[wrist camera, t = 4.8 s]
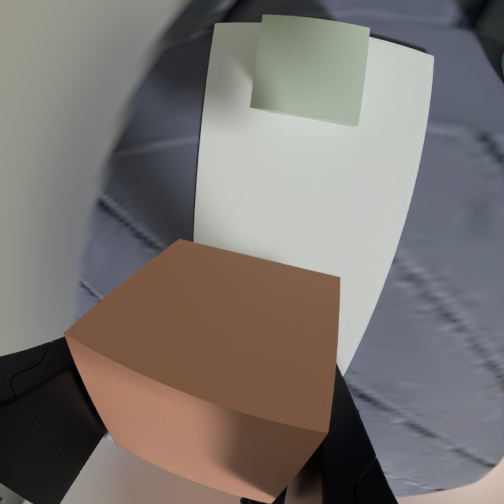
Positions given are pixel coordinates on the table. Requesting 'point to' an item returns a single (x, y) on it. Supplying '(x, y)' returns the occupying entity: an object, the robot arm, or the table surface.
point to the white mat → (313, 173)
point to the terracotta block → (215, 366)
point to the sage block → (310, 69)
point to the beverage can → (503, 63)
